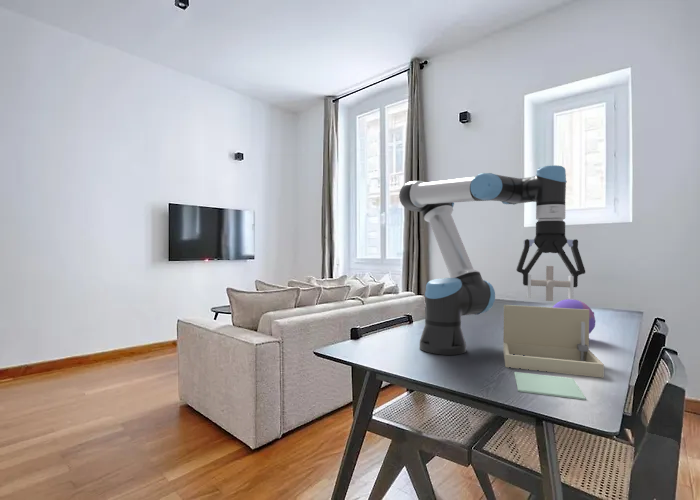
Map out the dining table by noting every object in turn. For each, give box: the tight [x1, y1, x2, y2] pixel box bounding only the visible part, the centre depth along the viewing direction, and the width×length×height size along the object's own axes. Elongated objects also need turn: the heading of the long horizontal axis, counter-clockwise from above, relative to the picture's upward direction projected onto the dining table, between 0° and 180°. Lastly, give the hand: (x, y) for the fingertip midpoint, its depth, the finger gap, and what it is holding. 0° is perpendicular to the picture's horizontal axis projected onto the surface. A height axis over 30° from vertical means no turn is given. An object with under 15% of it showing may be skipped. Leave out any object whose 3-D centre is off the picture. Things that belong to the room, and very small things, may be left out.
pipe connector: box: [531, 265, 570, 302], centre depth 110 cm, size 10×10×10 cm
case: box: [502, 304, 605, 379], centre depth 113 cm, size 24×17×16 cm
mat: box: [513, 371, 587, 401], centre depth 95 cm, size 14×14×1 cm
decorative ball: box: [552, 298, 596, 335], centre depth 145 cm, size 15×15×15 cm
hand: (549, 297), depth 110 cm, fingers closed on pipe connector, 10 cm apart
